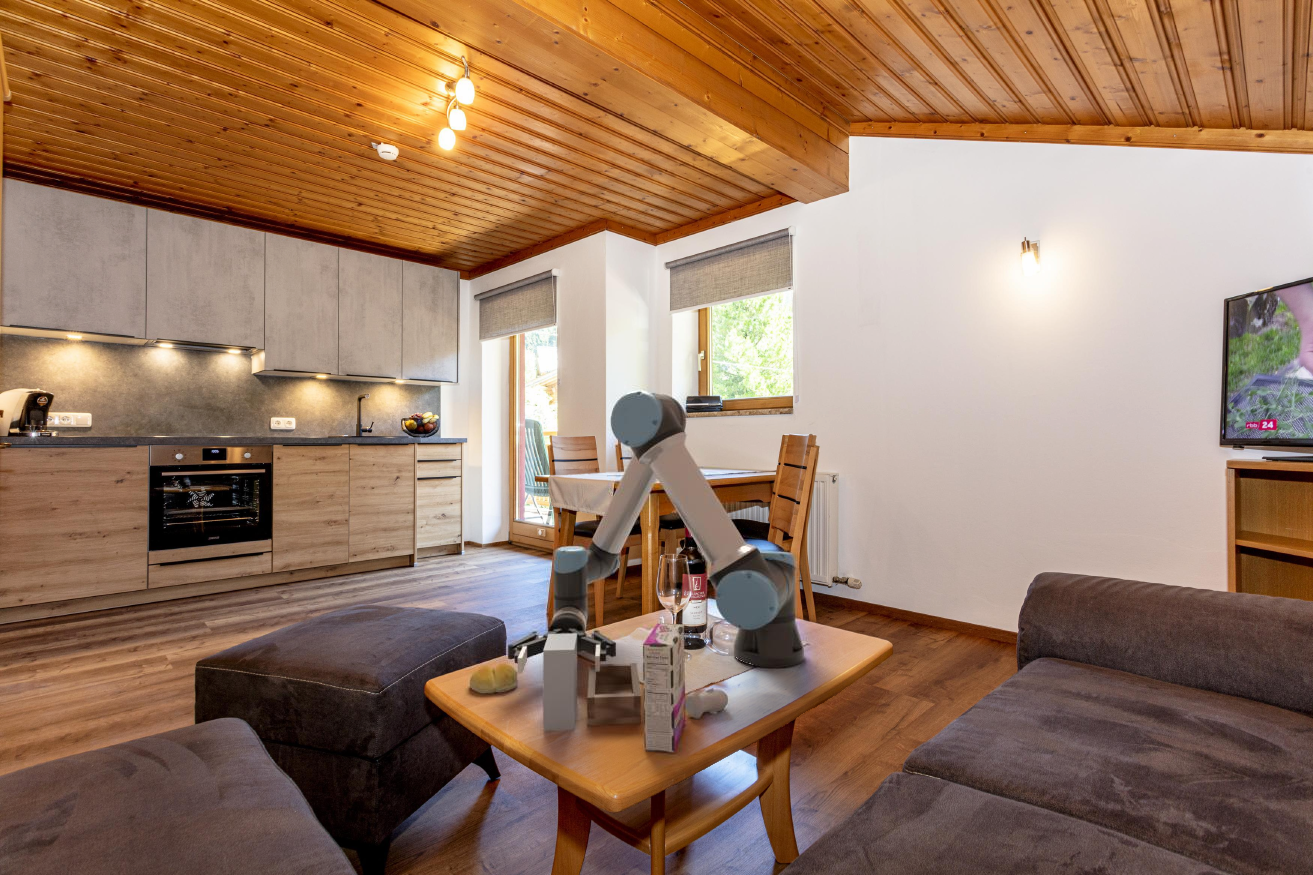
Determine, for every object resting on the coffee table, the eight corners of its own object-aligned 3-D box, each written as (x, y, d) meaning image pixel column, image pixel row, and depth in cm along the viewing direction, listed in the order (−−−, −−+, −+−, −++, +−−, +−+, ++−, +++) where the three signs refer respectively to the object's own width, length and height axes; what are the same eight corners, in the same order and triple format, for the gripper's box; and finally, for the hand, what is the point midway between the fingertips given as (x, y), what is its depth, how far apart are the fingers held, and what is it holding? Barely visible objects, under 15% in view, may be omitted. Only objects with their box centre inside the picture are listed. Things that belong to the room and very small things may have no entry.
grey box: (577, 707, 112) (577, 633, 112) (574, 729, 103) (574, 649, 103) (548, 708, 111) (548, 634, 112) (543, 730, 102) (543, 650, 103)
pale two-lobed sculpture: (717, 710, 113) (734, 711, 109) (680, 719, 109) (695, 720, 105) (713, 685, 114) (730, 685, 110) (676, 692, 110) (692, 693, 106)
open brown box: (637, 686, 121) (636, 663, 121) (641, 722, 105) (641, 695, 105) (589, 688, 120) (589, 664, 120) (587, 724, 104) (587, 697, 104)
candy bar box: (656, 719, 106) (656, 622, 107) (686, 722, 105) (685, 623, 106) (641, 751, 95) (641, 642, 96) (674, 754, 94) (674, 644, 95)
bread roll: (471, 681, 125) (471, 660, 125) (517, 677, 127) (517, 657, 127) (467, 697, 117) (467, 675, 117) (517, 693, 118) (517, 672, 119)
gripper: (626, 646, 134) (629, 684, 112) (507, 649, 132) (487, 688, 111) (626, 610, 134) (629, 641, 113) (507, 613, 132) (487, 645, 111)
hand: (558, 664), depth 112 cm, fingers open, 13 cm apart
